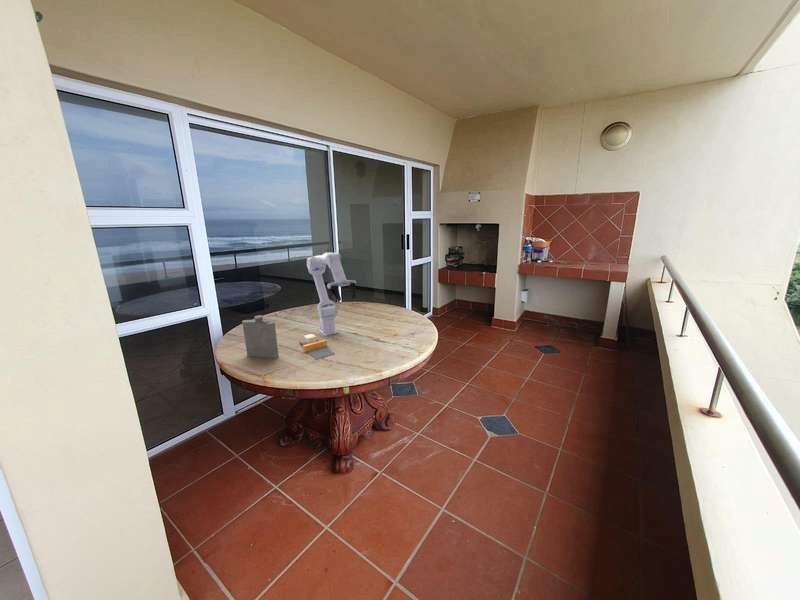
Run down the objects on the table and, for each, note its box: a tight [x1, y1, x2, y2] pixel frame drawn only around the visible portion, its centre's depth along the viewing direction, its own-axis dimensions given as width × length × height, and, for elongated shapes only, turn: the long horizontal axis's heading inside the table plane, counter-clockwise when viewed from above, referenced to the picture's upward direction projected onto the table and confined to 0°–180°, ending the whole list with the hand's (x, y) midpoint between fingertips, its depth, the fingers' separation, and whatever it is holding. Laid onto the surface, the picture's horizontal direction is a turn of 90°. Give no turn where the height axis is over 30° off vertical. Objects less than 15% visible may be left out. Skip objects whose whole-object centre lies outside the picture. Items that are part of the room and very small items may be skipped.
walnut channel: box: [298, 337, 320, 347], centre depth 166 cm, size 10×8×2 cm
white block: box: [303, 333, 317, 344], centre depth 165 cm, size 4×4×5 cm
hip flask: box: [241, 314, 279, 359], centre depth 151 cm, size 16×4×20 cm, turn 80°
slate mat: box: [307, 346, 336, 361], centre depth 156 cm, size 10×10×1 cm
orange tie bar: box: [302, 339, 328, 353], centre depth 161 cm, size 2×12×3 cm, turn 127°
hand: (347, 299), depth 154 cm, fingers open, 7 cm apart
